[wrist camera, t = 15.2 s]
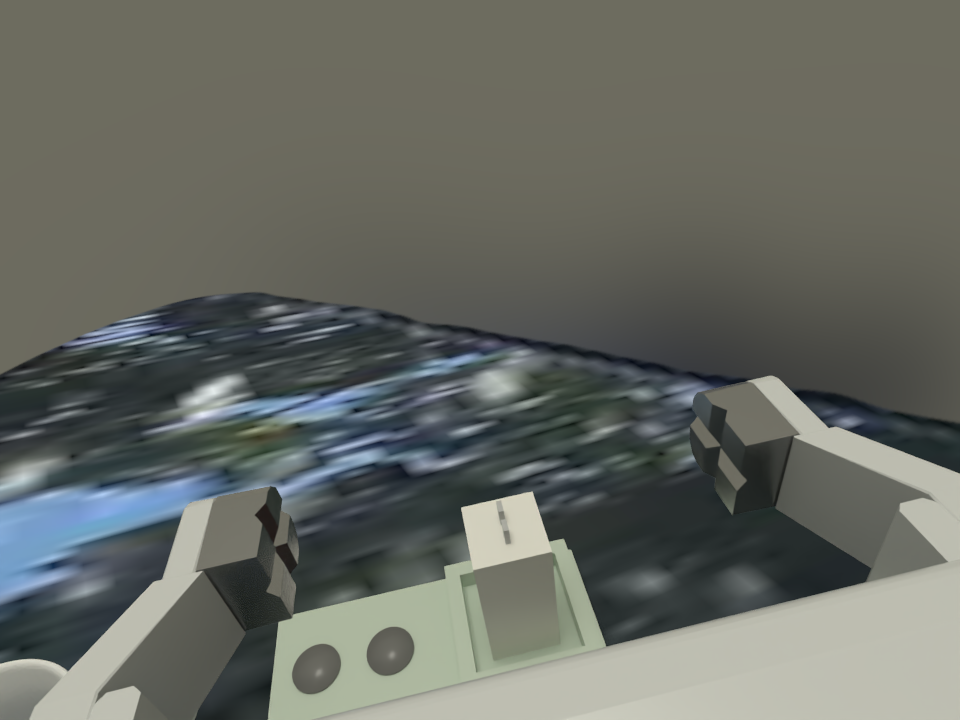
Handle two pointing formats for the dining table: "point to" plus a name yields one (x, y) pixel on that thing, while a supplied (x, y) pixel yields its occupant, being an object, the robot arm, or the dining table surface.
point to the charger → (513, 574)
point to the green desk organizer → (410, 643)
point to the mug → (27, 686)
